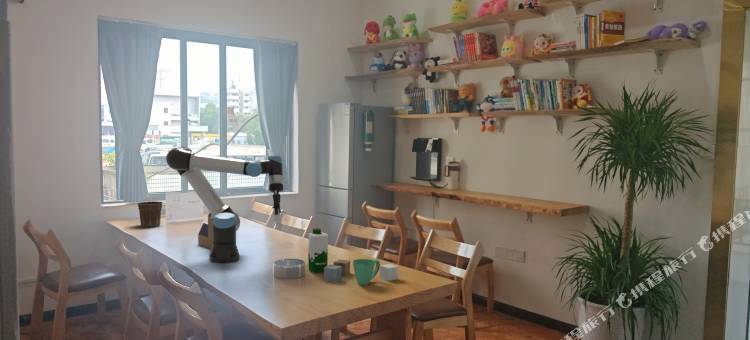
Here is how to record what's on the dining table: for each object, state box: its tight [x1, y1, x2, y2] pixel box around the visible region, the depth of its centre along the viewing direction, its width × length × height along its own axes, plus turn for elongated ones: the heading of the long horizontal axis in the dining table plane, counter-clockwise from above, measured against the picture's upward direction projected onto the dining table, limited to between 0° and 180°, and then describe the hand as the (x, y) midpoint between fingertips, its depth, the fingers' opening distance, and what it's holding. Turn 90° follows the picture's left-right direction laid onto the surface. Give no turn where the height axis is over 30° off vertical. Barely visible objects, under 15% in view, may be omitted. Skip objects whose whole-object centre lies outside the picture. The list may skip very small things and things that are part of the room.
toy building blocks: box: [197, 212, 213, 250], centre depth 309 cm, size 12×19×25 cm, turn 43°
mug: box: [352, 258, 381, 286], centre depth 241 cm, size 15×10×10 cm
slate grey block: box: [323, 264, 343, 283], centre depth 245 cm, size 6×6×6 cm
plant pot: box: [137, 200, 164, 228], centre depth 369 cm, size 16×16×16 cm
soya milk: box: [307, 228, 329, 274], centre depth 259 cm, size 9×9×20 cm
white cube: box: [379, 263, 399, 282], centre depth 248 cm, size 6×6×6 cm
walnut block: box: [332, 259, 351, 277], centre depth 255 cm, size 6×6×6 cm
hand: (277, 223), depth 284 cm, fingers open, 13 cm apart
